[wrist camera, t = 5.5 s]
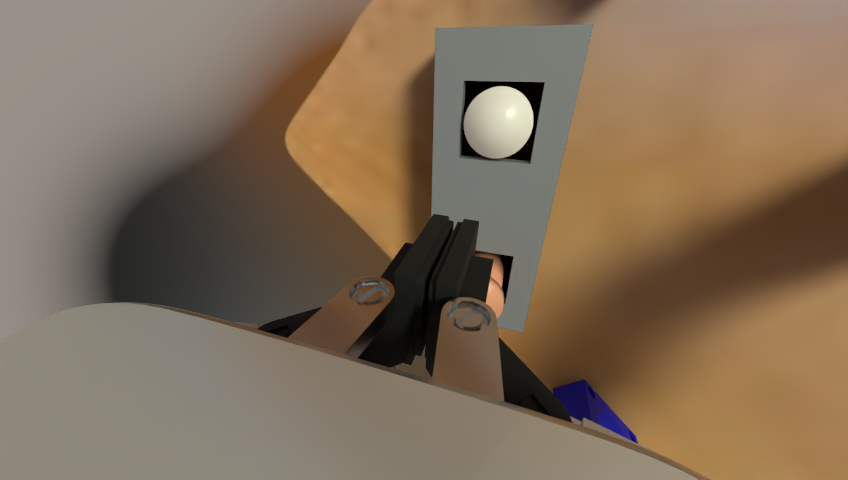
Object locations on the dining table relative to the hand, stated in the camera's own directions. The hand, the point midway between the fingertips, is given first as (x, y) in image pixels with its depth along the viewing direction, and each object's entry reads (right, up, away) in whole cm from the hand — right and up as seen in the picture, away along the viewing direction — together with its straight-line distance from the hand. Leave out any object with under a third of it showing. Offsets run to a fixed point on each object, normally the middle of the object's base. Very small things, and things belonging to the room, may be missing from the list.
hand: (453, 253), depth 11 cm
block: (+6, +6, +20) cm, 22 cm away
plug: (+6, +12, +16) cm, 21 cm away
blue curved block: (+22, -23, +31) cm, 44 cm away
